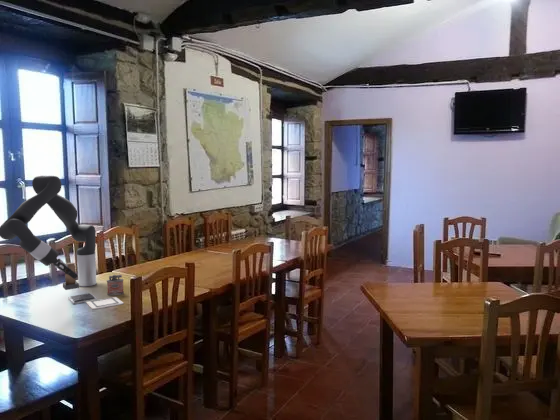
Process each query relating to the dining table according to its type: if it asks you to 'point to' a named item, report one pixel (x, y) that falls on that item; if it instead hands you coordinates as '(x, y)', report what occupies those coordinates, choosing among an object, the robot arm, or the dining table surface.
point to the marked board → (104, 303)
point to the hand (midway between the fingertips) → (74, 275)
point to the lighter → (115, 285)
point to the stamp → (70, 278)
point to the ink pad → (82, 298)
